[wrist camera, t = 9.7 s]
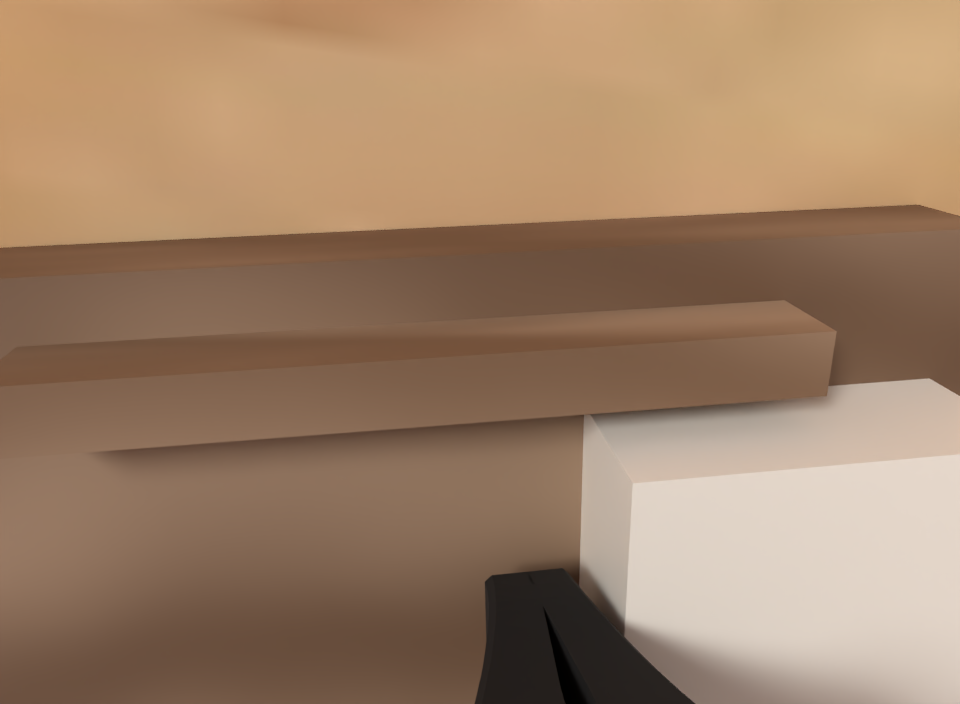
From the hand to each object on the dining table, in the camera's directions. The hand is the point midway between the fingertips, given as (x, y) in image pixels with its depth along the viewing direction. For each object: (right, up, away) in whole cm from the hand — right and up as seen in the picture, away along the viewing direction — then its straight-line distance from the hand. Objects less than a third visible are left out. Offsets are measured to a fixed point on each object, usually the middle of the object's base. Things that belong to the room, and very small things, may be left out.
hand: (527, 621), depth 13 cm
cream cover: (+4, +1, +1) cm, 4 cm away
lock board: (-1, 0, +3) cm, 3 cm away
